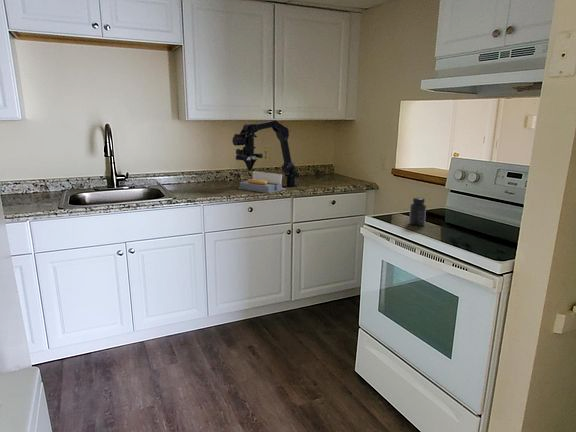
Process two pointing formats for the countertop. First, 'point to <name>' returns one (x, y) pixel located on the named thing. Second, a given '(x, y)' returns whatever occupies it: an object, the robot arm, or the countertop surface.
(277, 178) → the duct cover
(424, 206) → the supplement bottle
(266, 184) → the tan cylindrical rod
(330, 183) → the countertop surface
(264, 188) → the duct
